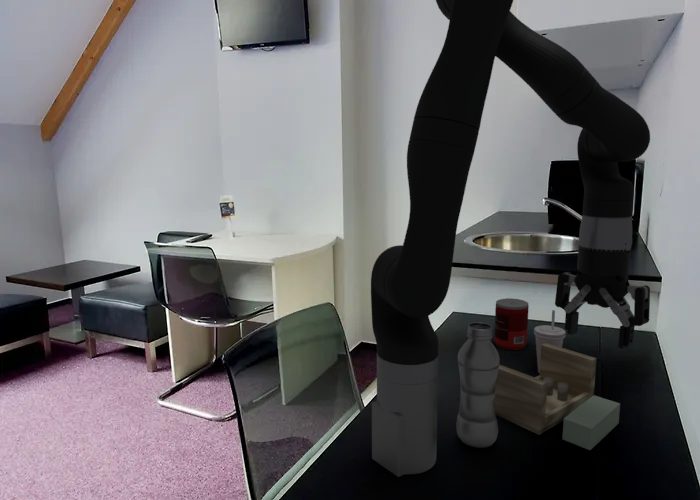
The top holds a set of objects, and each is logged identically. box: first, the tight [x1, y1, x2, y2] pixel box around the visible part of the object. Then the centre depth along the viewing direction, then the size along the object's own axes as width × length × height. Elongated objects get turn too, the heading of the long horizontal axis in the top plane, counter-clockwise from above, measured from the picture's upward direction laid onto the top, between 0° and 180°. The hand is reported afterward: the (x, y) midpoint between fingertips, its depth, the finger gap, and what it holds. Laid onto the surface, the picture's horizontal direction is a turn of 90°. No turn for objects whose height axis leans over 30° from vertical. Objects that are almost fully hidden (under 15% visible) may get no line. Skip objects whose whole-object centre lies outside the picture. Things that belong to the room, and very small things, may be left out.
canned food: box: [493, 297, 529, 351], centre depth 126 cm, size 8×8×11 cm
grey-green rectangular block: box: [561, 394, 621, 451], centre depth 86 cm, size 12×4×4 cm, turn 133°
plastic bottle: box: [455, 321, 501, 449], centre depth 82 cm, size 6×7×20 cm
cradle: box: [495, 343, 598, 436], centre depth 94 cm, size 18×10×9 cm, turn 128°
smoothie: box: [533, 309, 567, 374], centre depth 109 cm, size 6×6×14 cm
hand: (597, 340), depth 84 cm, fingers open, 8 cm apart
